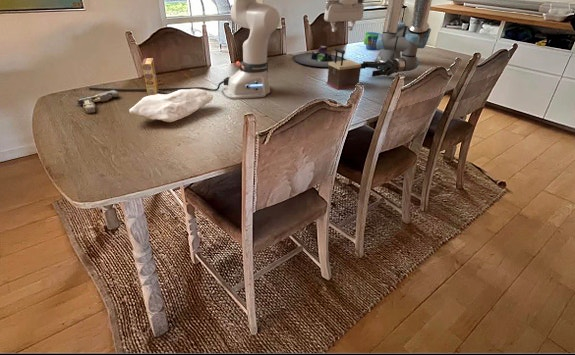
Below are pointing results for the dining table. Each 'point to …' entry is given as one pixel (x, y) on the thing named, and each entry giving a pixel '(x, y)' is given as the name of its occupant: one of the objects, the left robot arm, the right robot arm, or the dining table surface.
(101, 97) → the handgun
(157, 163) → the dining table surface
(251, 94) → the left robot arm
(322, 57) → the dark round tray
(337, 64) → the lid
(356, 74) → the chest
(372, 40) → the snack cup
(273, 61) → the dining table surface
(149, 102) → the crumpled cloth
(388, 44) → the right robot arm
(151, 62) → the candy box
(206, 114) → the dining table surface
